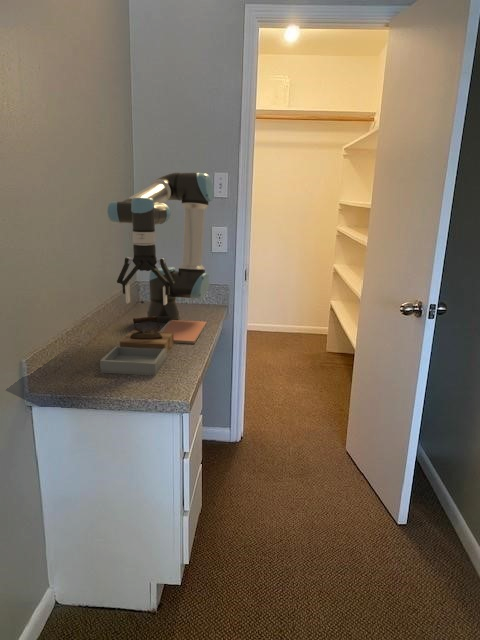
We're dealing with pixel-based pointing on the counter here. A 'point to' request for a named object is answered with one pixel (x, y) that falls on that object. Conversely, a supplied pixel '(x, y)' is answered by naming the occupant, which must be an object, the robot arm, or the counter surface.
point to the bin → (133, 360)
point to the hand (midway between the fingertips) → (146, 303)
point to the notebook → (184, 330)
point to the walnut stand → (149, 341)
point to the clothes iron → (147, 333)
